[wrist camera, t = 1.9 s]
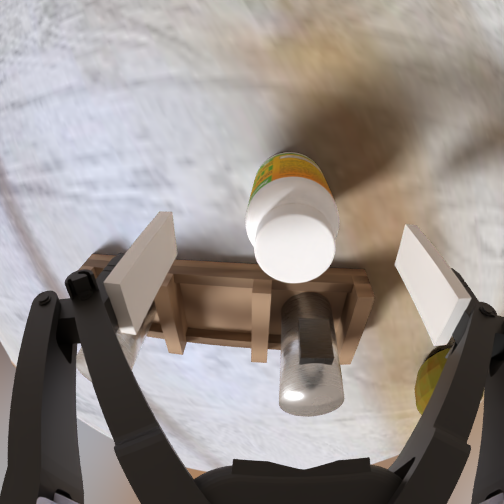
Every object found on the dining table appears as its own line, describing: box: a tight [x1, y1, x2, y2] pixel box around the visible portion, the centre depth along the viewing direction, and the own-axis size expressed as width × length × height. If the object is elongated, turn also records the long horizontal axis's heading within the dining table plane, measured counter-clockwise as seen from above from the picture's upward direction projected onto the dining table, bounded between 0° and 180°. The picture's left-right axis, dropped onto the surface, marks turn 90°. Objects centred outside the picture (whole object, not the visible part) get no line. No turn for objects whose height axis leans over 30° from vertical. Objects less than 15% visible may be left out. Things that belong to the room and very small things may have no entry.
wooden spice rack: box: [79, 254, 375, 365], centre depth 27 cm, size 9×27×4 cm, turn 90°
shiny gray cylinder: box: [279, 292, 344, 416], centre depth 23 cm, size 5×5×10 cm
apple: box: [415, 348, 484, 415], centre depth 28 cm, size 10×10×11 cm
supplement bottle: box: [246, 152, 340, 283], centre depth 18 cm, size 5×5×10 cm
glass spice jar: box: [76, 300, 157, 382], centre depth 24 cm, size 5×5×10 cm
